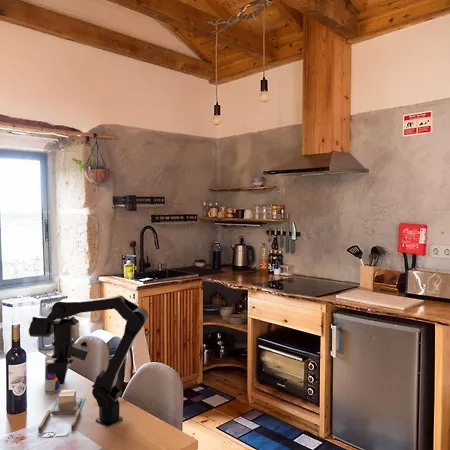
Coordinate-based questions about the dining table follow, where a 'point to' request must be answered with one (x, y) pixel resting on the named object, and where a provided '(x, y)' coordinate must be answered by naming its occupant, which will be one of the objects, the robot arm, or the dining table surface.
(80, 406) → the mat
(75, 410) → the sled
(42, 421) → the channel
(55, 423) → the dining table surface
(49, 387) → the energy drink
